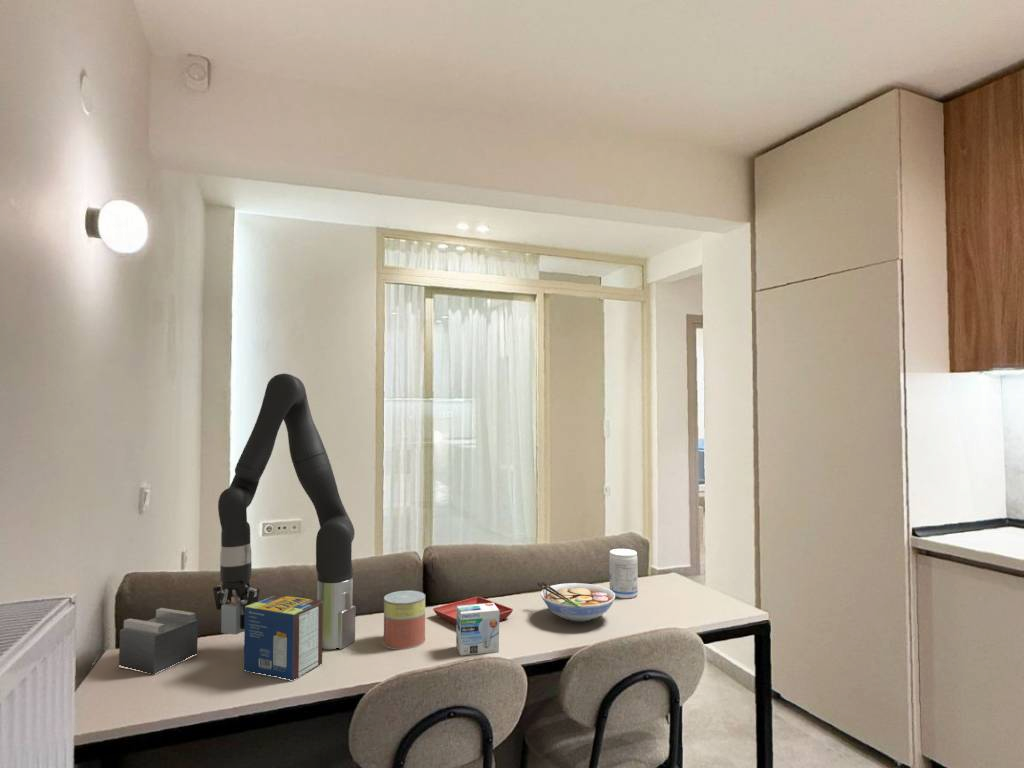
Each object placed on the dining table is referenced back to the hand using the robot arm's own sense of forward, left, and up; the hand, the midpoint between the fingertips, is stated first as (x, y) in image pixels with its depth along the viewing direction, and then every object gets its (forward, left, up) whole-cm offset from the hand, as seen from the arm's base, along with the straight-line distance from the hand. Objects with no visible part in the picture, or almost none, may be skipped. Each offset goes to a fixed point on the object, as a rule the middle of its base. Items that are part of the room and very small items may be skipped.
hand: (236, 626), depth 153 cm
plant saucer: (-49, -44, -7) cm, 66 cm away
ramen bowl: (-79, -55, -6) cm, 96 cm away
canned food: (-39, -21, -6) cm, 44 cm away
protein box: (-20, +4, -6) cm, 21 cm away
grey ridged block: (+12, +12, -6) cm, 18 cm away
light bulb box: (-60, -23, -6) cm, 64 cm away
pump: (0, 0, -1) cm, 1 cm away
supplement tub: (-88, -83, -6) cm, 121 cm away
